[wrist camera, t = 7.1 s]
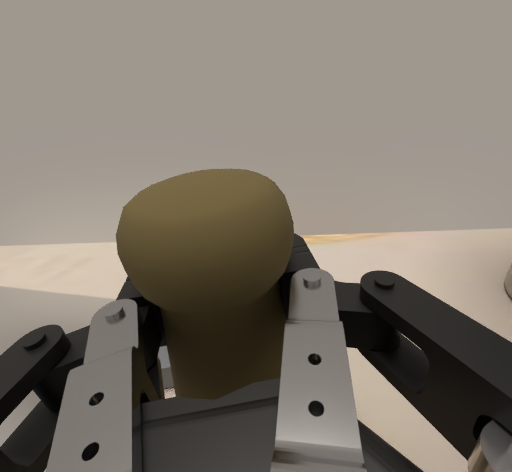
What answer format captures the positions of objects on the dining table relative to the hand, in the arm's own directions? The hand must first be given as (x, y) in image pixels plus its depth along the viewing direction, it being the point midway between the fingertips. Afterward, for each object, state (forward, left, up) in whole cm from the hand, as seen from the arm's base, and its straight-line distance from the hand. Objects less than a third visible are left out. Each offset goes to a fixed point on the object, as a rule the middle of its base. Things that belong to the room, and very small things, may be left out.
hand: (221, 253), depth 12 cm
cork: (0, +3, -7) cm, 8 cm away
